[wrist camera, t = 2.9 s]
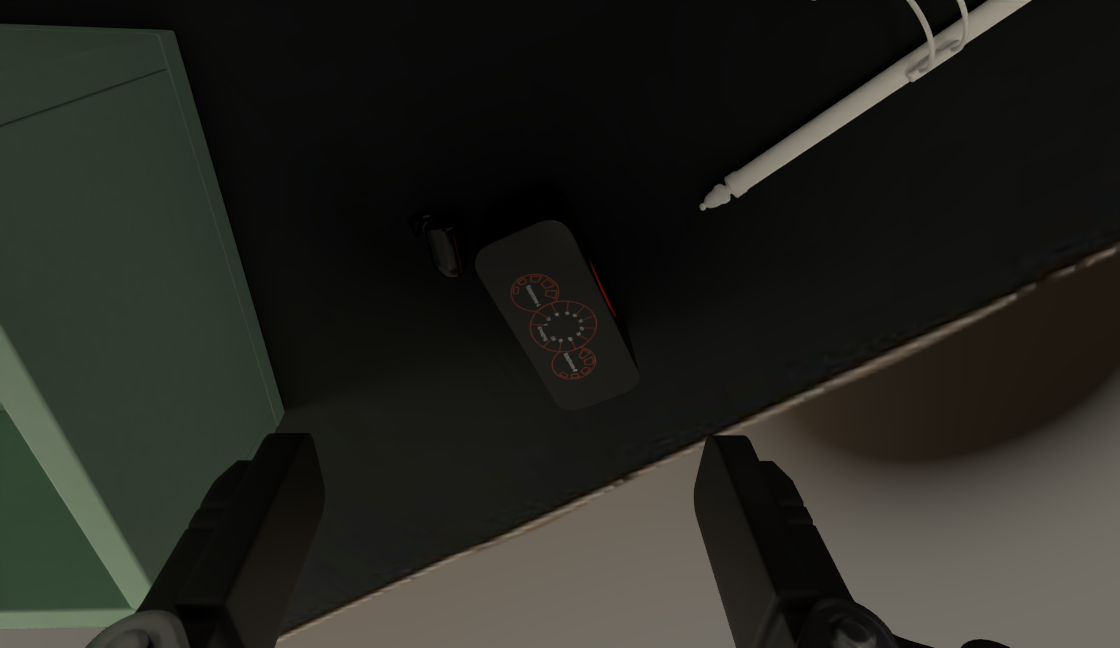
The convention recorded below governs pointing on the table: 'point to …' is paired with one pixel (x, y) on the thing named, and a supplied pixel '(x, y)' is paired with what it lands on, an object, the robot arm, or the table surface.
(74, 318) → the storage box
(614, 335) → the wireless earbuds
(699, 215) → the table surface
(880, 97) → the picture light
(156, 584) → the robot arm
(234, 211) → the table surface
